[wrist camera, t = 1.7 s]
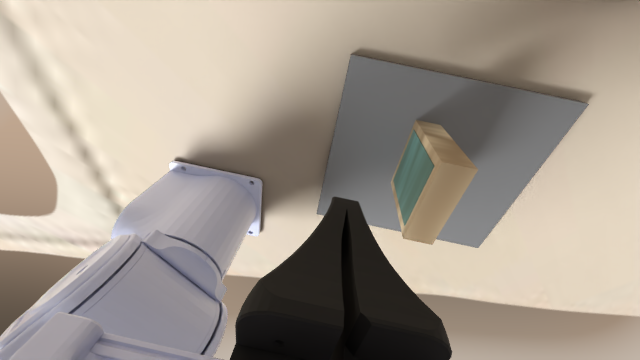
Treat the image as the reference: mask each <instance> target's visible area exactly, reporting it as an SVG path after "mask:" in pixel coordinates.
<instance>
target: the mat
mask: <svg viewBox="0 0 640 360" xmlns="http://www.w3.org/2000/svg"><path fill="white" fill-rule="evenodd" d="M588 105H589V104H587V103H584V102H581V101H577V100H572V99H567V98H562V97H557V96H552V95H548V94H543V93H538V92H533V91H528V90H523V89H519V88H514V87H509V86H504V85H499V84H494V83H490V82H485V81H480V80H475V79H470V78H465V77H461V76H456V75H451V74H446V73H441V72H436V71H431V70H427V69H422V68H417V67H412V66H407V65H402V64H398V63H393V62H388V61H383V60H378V59H373V58H369V57H364V56H359V55H354V54H351V57H350V61H349V66H348V71H347V75H346V80H345V85H344V89H343V94H342V99H341V103H340V108H339V112H338V117H337V122H336V126H335V131H334V136H333V140H332V145H331V149H330V154H329V159H328V163H327V168H326V173H325V177H324V182H323V186H322V191H321V196H320V200H319V205H318V210H317V214H320V215H324V216H325V214H326V212H327V211H328V209H329V207H330V204H331V200H332V198H333V197H340V198H345V199H349V200H354V201H358V202H359V203H360V206H361V209H362V212H363V214H364V217H365V219H366V222H367V224H368V225H372V226H376V227H381V228H386V229H390V230H395V231H400V232H402V231H401V226H400V222H399V217H398V213H397V208H396V204H395V200H394V195H393V191H392V186H391V181H392V178H393V175H394V173H395V170H396V168H397V165H398V163H399V160H400V158H401V155H402V153H403V150H404V148H405V145H406V143H407V140H408V138H409V135H410V133H411V130H412V128H413V125H414V123H415V120H419V121H424V122H429V123H433V124H438V125H441V126H442V127H443V128H444V129H445V131H446V132H447V133H448V134H449V135H450V137H451V138H452V139H453V140H454V141H455V143H456V144H457V145H458V146H459V147H460V149H461V150H462V151H463V152H464V153H465V154H466V156H467V157H468V158H469V159H470V160H471V162H472V163H473V164H474V165H475V166H476V168H477V169H478V171H477V173H476V174H475V176H474V178H473V179H472V181H471V182H470V184H469V186H468V187H467V189H466V191H465V192H464V194H463V195H462V197H461V199H460V200H459V202H458V204H457V205H456V207H455V209H454V210H453V212H452V213H451V215H450V217H449V218H448V220H447V222H446V223H445V225H444V226H443V228H442V230H441V231H440V233H439V235H438V236H437V238H436V239H438V240H442V241H447V242H452V243H457V244H461V245H466V246H471V247H475V248H478V247H479V246H480V245H481V244H482V242H483V241H484V240H485V238H486V237H487V236H488V234H489V233H490V232H491V231H492V229H493V228H494V227H495V225H496V224H497V223H498V221H499V220H500V219H501V218H502V216H503V215H504V214H505V212H506V211H507V210H508V209H509V207H510V206H511V205H512V203H513V202H514V201H515V199H516V198H517V197H518V196H519V194H520V193H521V192H522V190H523V189H524V188H525V186H526V185H527V184H528V183H529V181H530V180H531V179H532V177H533V176H534V175H535V173H536V172H537V171H538V170H539V168H540V167H541V166H542V164H543V163H544V162H545V161H546V159H547V158H548V157H549V155H550V154H551V153H552V151H553V150H554V149H555V148H556V146H557V145H558V144H559V142H560V141H561V140H562V138H563V137H564V136H565V135H566V133H567V132H568V131H569V129H570V128H571V127H572V125H573V124H574V123H575V122H576V120H577V119H578V118H579V116H580V115H581V114H582V113H583V111H584V110H585V109H586V107H587V106H588Z"/></svg>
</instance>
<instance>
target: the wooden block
mask: <svg viewBox="0 0 640 360" xmlns="http://www.w3.org/2000/svg"><path fill="white" fill-rule="evenodd" d="M477 171H478V169H477V168H476V166H475V165H474V164H473V163H472V162H471V160H470V159H469V158H468V157H467V156H466V154H465V153H464V152H463V151H462V150H461V149H460V147H459V146H458V145H457V144H456V143H455V141H454V140H453V139H452V138H451V137H450V135H449V134H448V133H447V132H446V131H445V129H444V128H443V127H442V126H441V125H438V124H433V123H429V122H424V121H419V120H415V123H414V125H413V128H412V130H411V133H410V135H409V138H408V140H407V143H406V145H405V148H404V150H403V153H402V155H401V158H400V160H399V163H398V165H397V168H396V170H395V173H394V175H393V178H392V181H391V186H392V191H393V195H394V200H395V204H396V208H397V213H398V217H399V222H400V226H401V231H402V235H403V239H408V240H412V241H417V242H422V243H427V244H431V245H432V244H433V243H434V241H435V239H436V238H437V236H438V235H439V233H440V231H441V230H442V228H443V226H444V225H445V223H446V222H447V220H448V218H449V217H450V215H451V213H452V212H453V210H454V209H455V207H456V205H457V204H458V202H459V200H460V199H461V197H462V195H463V194H464V192H465V191H466V189H467V187H468V186H469V184H470V182H471V181H472V179H473V178H474V176H475V174H476V173H477Z"/></svg>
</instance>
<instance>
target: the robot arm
mask: <svg viewBox="0 0 640 360" xmlns="http://www.w3.org/2000/svg"><path fill="white" fill-rule="evenodd" d="M169 167H170V171H169V172H168V173H167V174H165V175H164V176H163V177H162V178H160V179H159V180H158V181H157V182H155V183H154V184H153V185H152V186H150V187H149V188H148V189H147V190H145V191H144V192H143V193H142V194H140V195H139V196H138V197H137V198H135V199H134V200H133V201H132V202H130V203H129V204H128V205H127V206H126V207H125V209H124V210H123V211H122V212H121V214H120V215H119V217H118V219H117V221H116V222H115V225H114V227H113V230H112V236H111V240H110V241H108V242H107V243H106V244H104V245H103V246H101V247H100V248H99V249H97V250H96V251H95V252H93V253H92V254H91V255H89V256H88V257H87V258H86V259H84V260H83V261H82V262H81V263H80V264H78V265H77V266H76V267H75V268H73V269H72V270H71V271H70V272H69V273H68V274H66V275H65V276H64V277H63V278H62V279H60V280H59V281H58V282H57V283H56V284H55V285H54V286H53V287H51V288H50V289H49V290H48V291H47V292H46V293H45V294H44V295H43V296H42V297H41V298H40V299H39V300H38V301H37V302H36V303H35V304H34V305H33V306H32V307H31V308H30V309H29V310H27V311H26V312H25V313H24V314H22V315H21V316H20V317H19V318H18V319H16V321H14V322H13V323H12V324H11V325H10V326H9V327H8V328H7V330H6V331H5V332H4V333H3V334H2V335H1V336H0V360H223V359H218V358H214V357H213V356H214V354H215V353H216V351H217V349H218V347H219V345H220V343H221V341H222V338H223V335H224V332H225V328H226V323H227V317H228V312H227V308H226V306H225V304H224V303H222V302H221V301H222V299H223V296H224V294H225V292H226V290H227V288H226V287H225V286H224V285H223V283H222V280H223V278H224V277H225V275H226V273H227V271H228V269H229V267H230V265H231V263H232V261H233V259H234V257H235V255H236V253H237V251H238V249H239V247H240V245H241V243H242V242H243V240H244V238H245V236H246V234H247V235H252V236H258V235H259V234H260V223H261V204H262V184H263V183H262V181H261V180H260V179H259V178H254V177H250V176H245V175H240V174H235V173H231V172H226V171H221V170H217V169H212V168H207V167H202V166H198V165H193V164H188V163H183V162H179V161H172V162H170V164H169ZM184 167H185V168H186V169H185V168H184ZM251 181H253V182H254V183H252V182H251ZM251 231H252V232H251ZM451 355H452V350H451V347H450V343H449V340H448V337H447V334H446V331H445V328H444V326H443V323H442V320H441V319H440V318H439V317H438V316H437V315H436V314H435V313H434V312H433V311H432V310H431V309H430V308H428V306H426V305H425V304H424V303H423V302H422V301H421V300H420V299H419V298H418V297H417V295H416V294H415V293H414V292H413V291H412V290H411V289H410V288H409V287H408V286H407V284H406V283H405V282H404V281H403V280H402V278H401V277H400V276H399V275H398V273H397V272H396V271H395V270H394V268H393V267H392V266H391V264H390V263H389V261H388V260H387V258H386V257H385V255H384V254H383V252H382V251H381V249H380V247H379V245H378V244H377V242H376V240H375V238H374V236H373V234H372V232H371V230H370V228H369V226H368V224H367V222H366V219H365V217H364V214H363V212H362V209H361V206H360V203H359V202H358V201H354V200H349V199H345V198H340V197H333V198H332V200H331V204H330V207H329V209H328V211H327V212H326V214H325V216H324V217H323V219H322V221H321V222H320V224H319V225H318V226H317V228H316V229H315V230H314V232H313V233H312V234H311V235H310V237H309V238H308V239H307V240H306V241H305V242H304V243H303V244H302V245H301V246H300V247H299V248H298V249H297V250H296V251H295V252H294V253H293V254H292V255H291V256H290V257H289V258H288V259H286V260H285V261H284V262H283V263H282V264H280V265H279V266H278V267H277V268H275V269H274V270H272V271H271V272H270V273H268V274H267V275H265V276H264V277H263V278H261V279H260V280H259V281H258V282H257V284H256V285H255V287H254V288H253V289H252V291H251V292H250V294H249V295H248V297H247V298H246V300H245V302H244V304H243V306H242V308H241V310H240V313H239V315H238V318H237V320H236V345H235V348H234V350H233V353H232V355H231V358H230V360H449V359H450V358H451Z"/></svg>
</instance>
